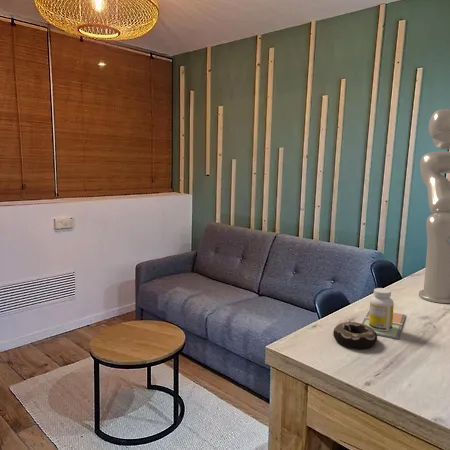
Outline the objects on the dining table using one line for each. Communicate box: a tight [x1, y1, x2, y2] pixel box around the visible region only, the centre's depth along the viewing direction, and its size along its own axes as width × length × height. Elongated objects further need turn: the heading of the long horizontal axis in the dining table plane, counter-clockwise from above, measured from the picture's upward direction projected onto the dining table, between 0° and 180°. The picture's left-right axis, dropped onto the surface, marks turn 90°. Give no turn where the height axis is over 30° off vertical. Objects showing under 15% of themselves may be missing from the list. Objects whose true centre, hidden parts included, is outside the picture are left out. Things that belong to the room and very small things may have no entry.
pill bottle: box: [369, 287, 395, 331], centre depth 116 cm, size 6×6×12 cm
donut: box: [332, 321, 378, 350], centre depth 109 cm, size 12×12×4 cm
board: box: [361, 309, 406, 340], centre depth 122 cm, size 20×11×1 cm, turn 150°
